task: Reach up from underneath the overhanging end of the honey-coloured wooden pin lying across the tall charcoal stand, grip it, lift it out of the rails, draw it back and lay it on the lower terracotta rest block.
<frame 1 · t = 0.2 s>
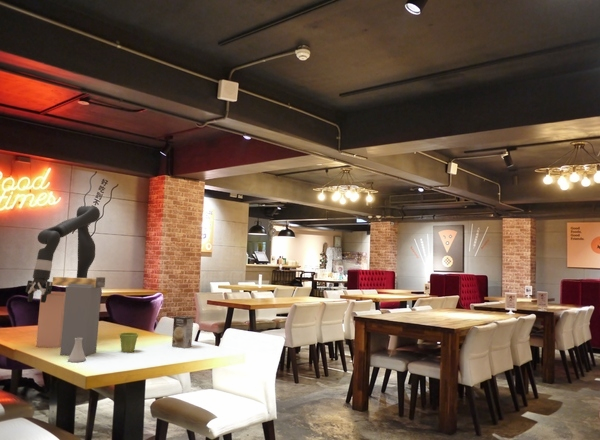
hand: (36, 302, 241), 23 cm above the table, tool pointing down, fingers open, 8 cm apart
coffee box: (181, 347, 265), on the table
grey stand: (78, 353, 233), on the table
rest block: (52, 345, 252), on the table
wooden pin: (78, 286, 237), point 32 cm above the table, touching grey stand
plant pot: (127, 351, 245), on the table
flask: (76, 361, 217), on the table
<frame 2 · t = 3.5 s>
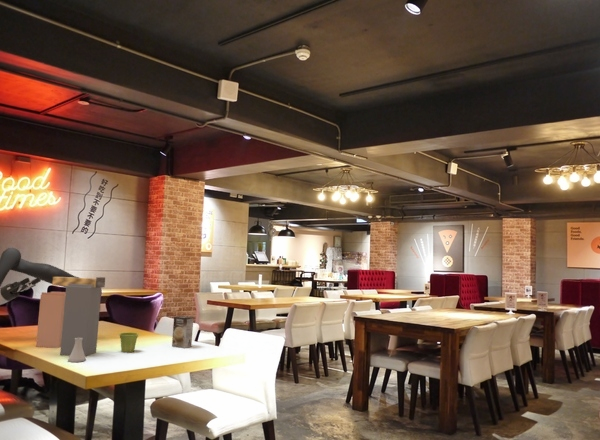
hand: (34, 279, 239), 34 cm above the table, tool pointing upward, fingers open, 8 cm apart
nothing on the table moved.
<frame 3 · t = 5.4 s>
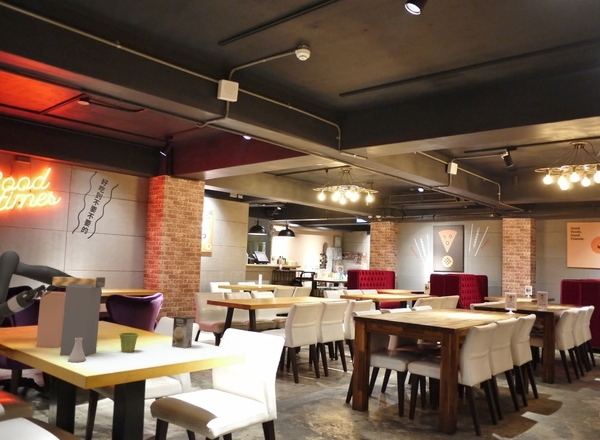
hand: (49, 286, 238), 31 cm above the table, tool pointing upward, fingers open, 8 cm apart
nothing on the table moved.
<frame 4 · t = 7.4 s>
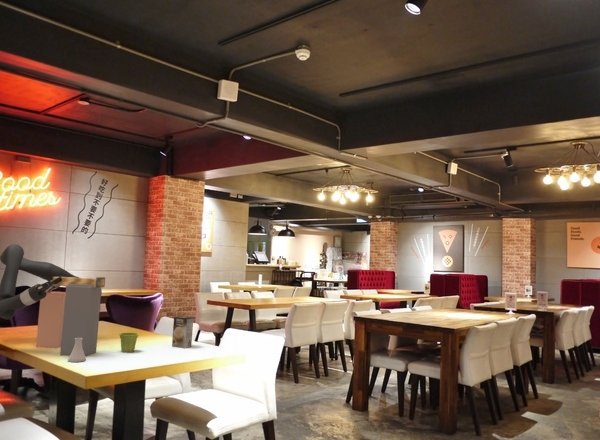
hand: (63, 278, 238), 35 cm above the table, tool pointing upward, fingers closed on wooden pin, 4 cm apart
wooden pin: (78, 286, 237), point 32 cm above the table, touching grey stand, gripper
everything else where it was.
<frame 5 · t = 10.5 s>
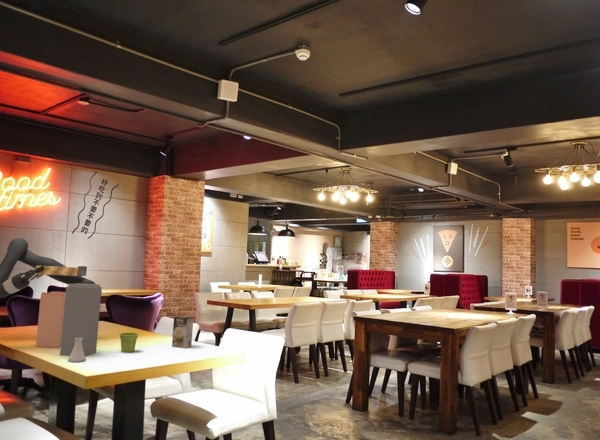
hand: (46, 267, 244), 40 cm above the table, tool pointing upward, fingers closed on wooden pin, 4 cm apart
wooden pin: (60, 274, 244), point 37 cm above the table, touching gripper
everything else where it was.
when the fingers open (30 cm above the table, at t = 13.7 s): wooden pin stays where it is, resting on rest block.
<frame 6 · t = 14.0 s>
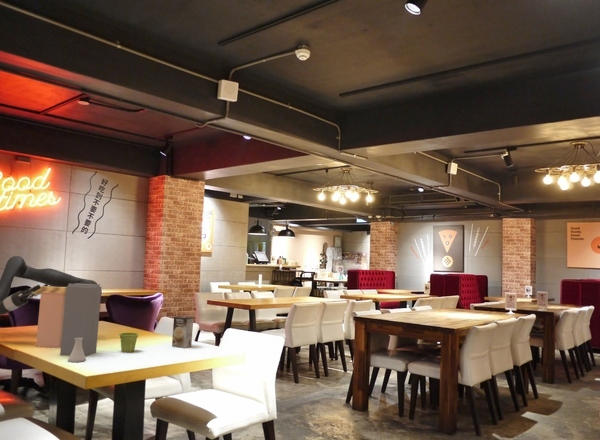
hand: (43, 286, 255), 30 cm above the table, tool pointing upward, fingers open, 6 cm apart
wooden pin: (57, 294, 254), point 26 cm above the table, touching rest block
everything else where it was.
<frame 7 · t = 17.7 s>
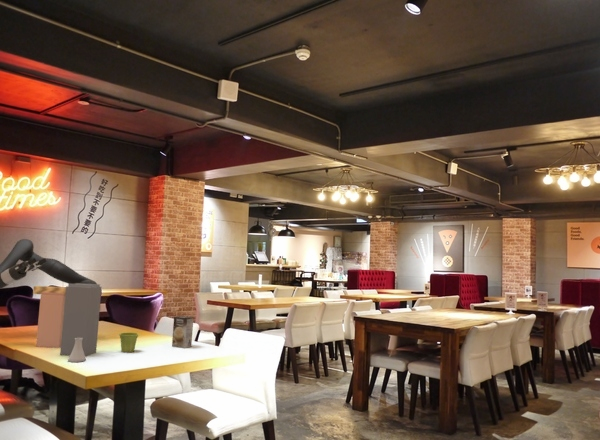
hand: (41, 259, 251), 44 cm above the table, tool pointing upward, fingers open, 8 cm apart
nothing on the table moved.
at the end: wooden pin inside the target area (0.1 cm from its centre), point 26.0 cm above the table; the gripper is holding nothing; wooden pin touching rest block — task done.
